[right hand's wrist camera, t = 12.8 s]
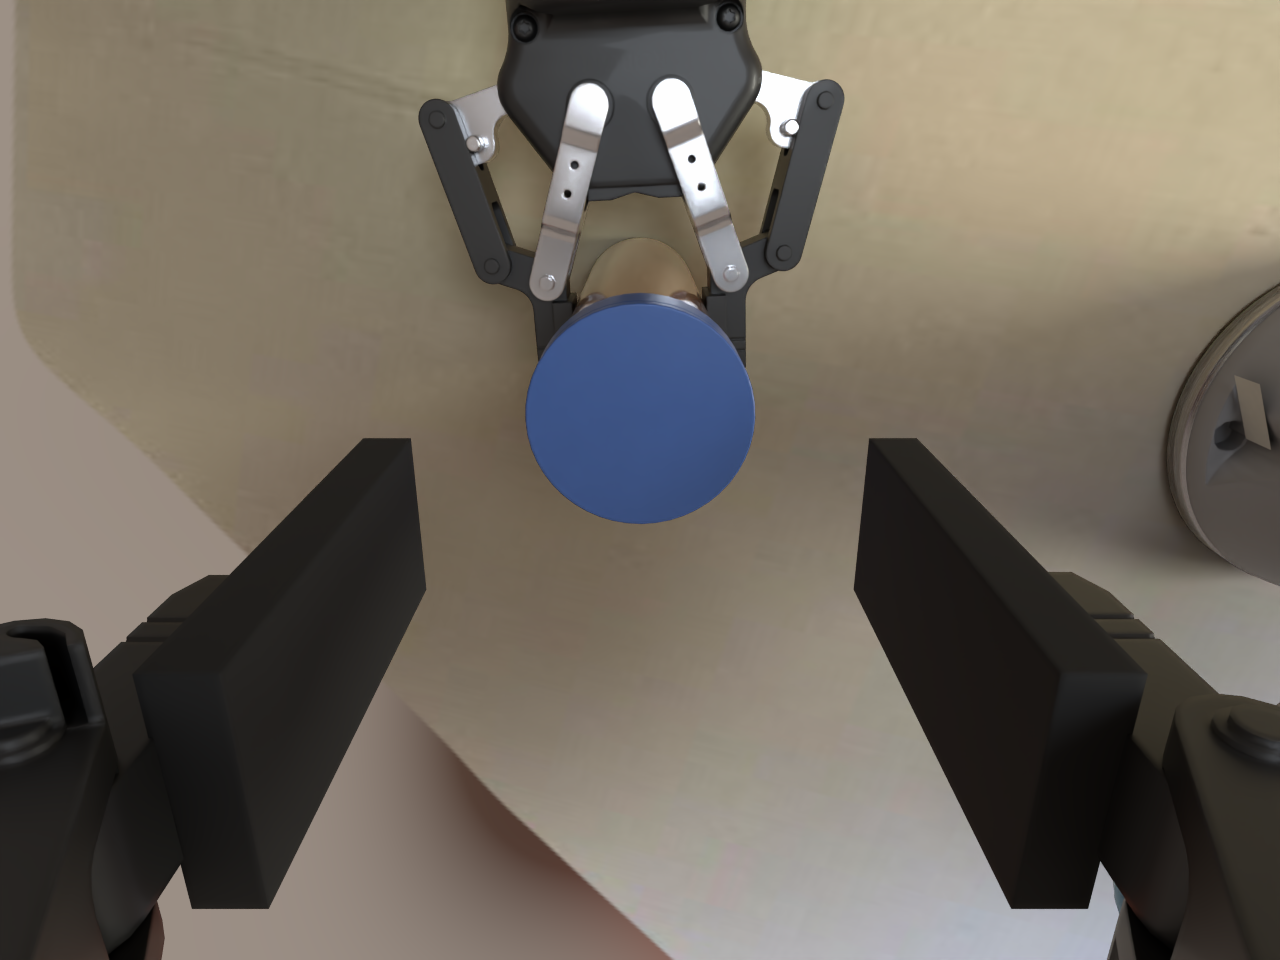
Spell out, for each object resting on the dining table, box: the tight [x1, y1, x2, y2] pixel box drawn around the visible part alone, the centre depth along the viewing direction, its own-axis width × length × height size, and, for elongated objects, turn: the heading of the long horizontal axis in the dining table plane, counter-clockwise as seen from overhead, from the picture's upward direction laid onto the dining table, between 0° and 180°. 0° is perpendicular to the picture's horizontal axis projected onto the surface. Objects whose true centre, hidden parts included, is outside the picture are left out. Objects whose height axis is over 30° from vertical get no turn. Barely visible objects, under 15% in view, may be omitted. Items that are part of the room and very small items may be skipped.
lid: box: [525, 293, 755, 524], centre depth 20 cm, size 5×5×2 cm
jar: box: [571, 238, 710, 318], centre depth 28 cm, size 5×5×18 cm
